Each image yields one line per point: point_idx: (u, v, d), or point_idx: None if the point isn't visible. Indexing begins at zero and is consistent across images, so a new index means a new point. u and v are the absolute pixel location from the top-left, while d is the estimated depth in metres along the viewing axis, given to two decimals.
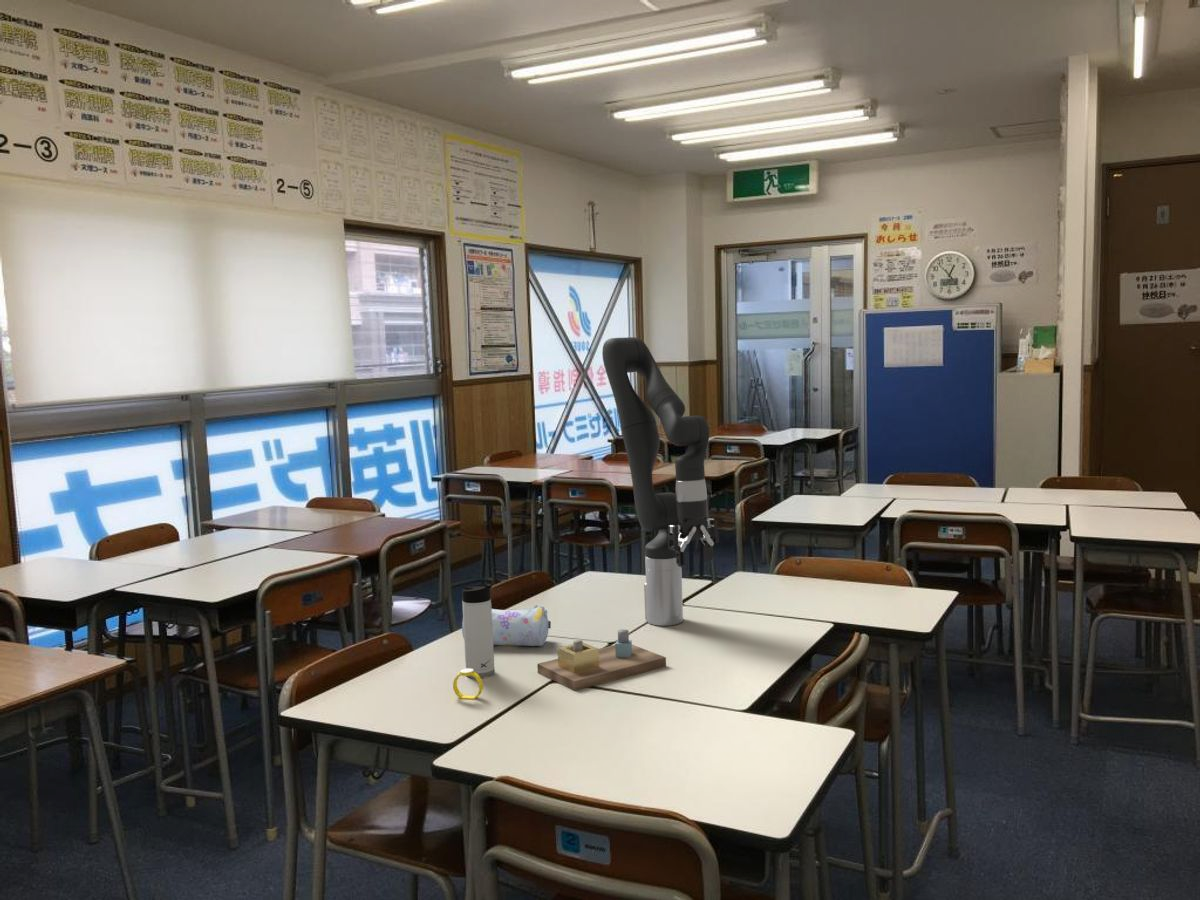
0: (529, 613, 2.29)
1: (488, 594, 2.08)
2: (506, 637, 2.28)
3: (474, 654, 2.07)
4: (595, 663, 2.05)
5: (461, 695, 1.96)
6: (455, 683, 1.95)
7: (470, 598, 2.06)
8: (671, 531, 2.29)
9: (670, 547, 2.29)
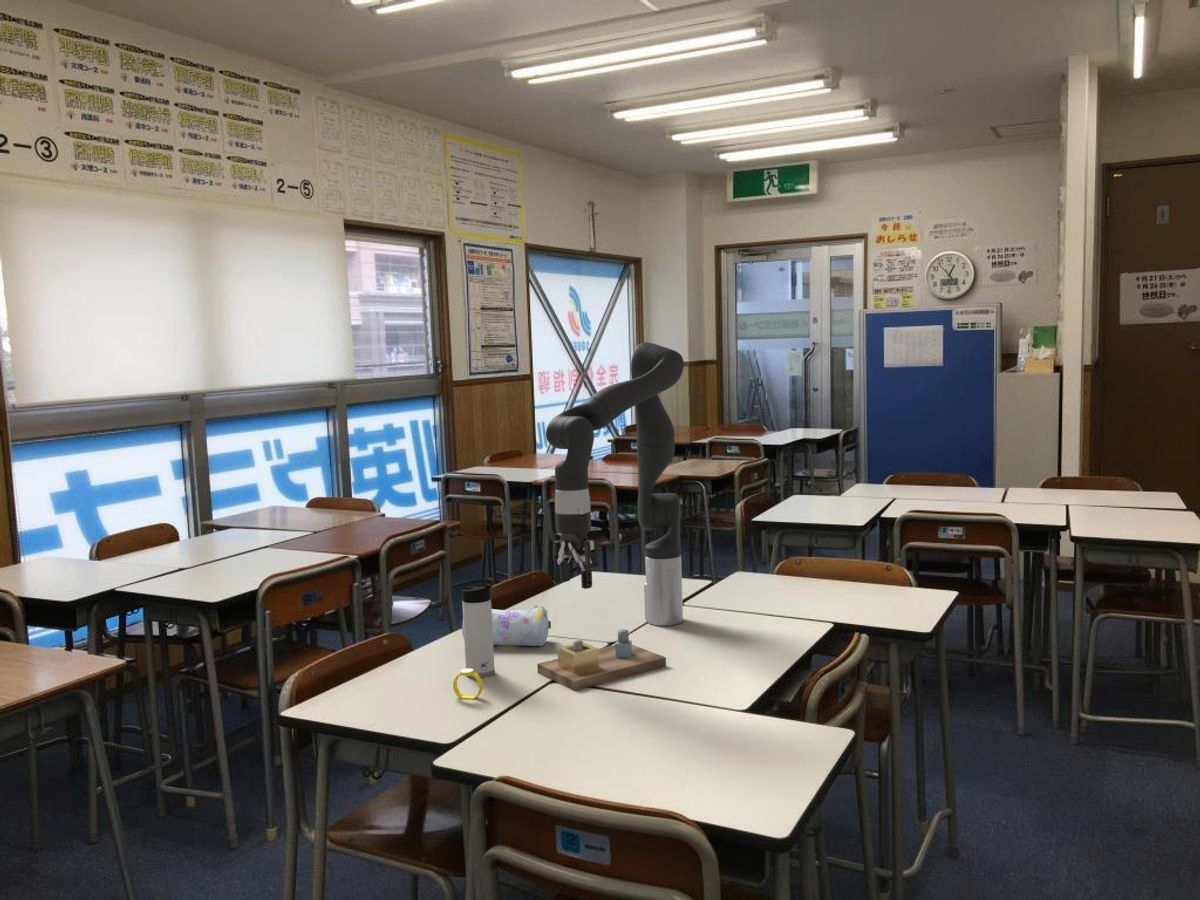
0: (530, 613, 2.29)
1: (488, 594, 2.08)
2: (506, 637, 2.28)
3: (474, 654, 2.07)
4: (595, 663, 2.05)
5: (461, 695, 1.96)
6: (455, 683, 1.95)
7: (470, 598, 2.06)
8: (591, 548, 1.98)
9: (591, 566, 1.98)
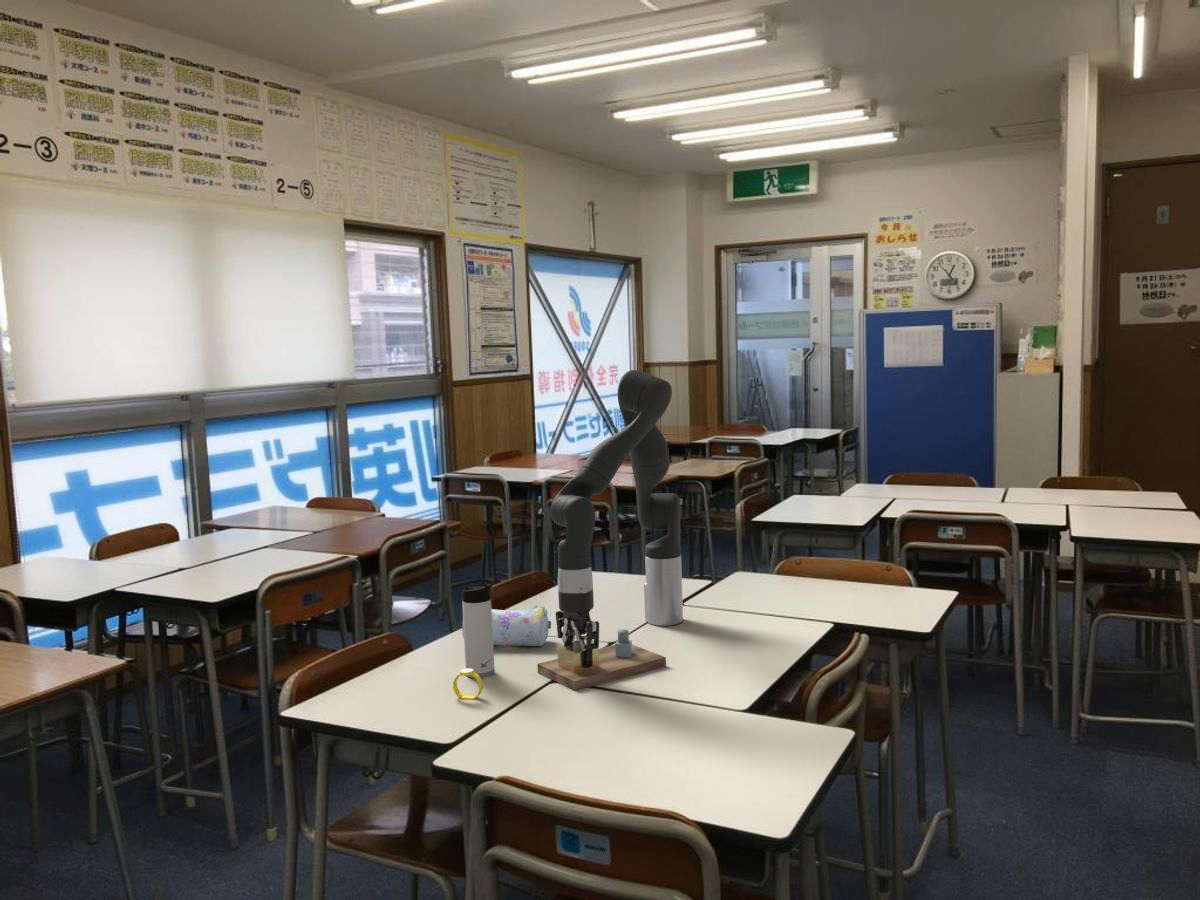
0: (530, 613, 2.29)
1: (488, 594, 2.08)
2: (506, 637, 2.28)
3: (474, 654, 2.07)
4: (595, 663, 2.05)
5: (461, 695, 1.96)
6: (455, 683, 1.95)
7: (470, 598, 2.06)
8: (594, 630, 2.00)
9: (592, 647, 2.01)
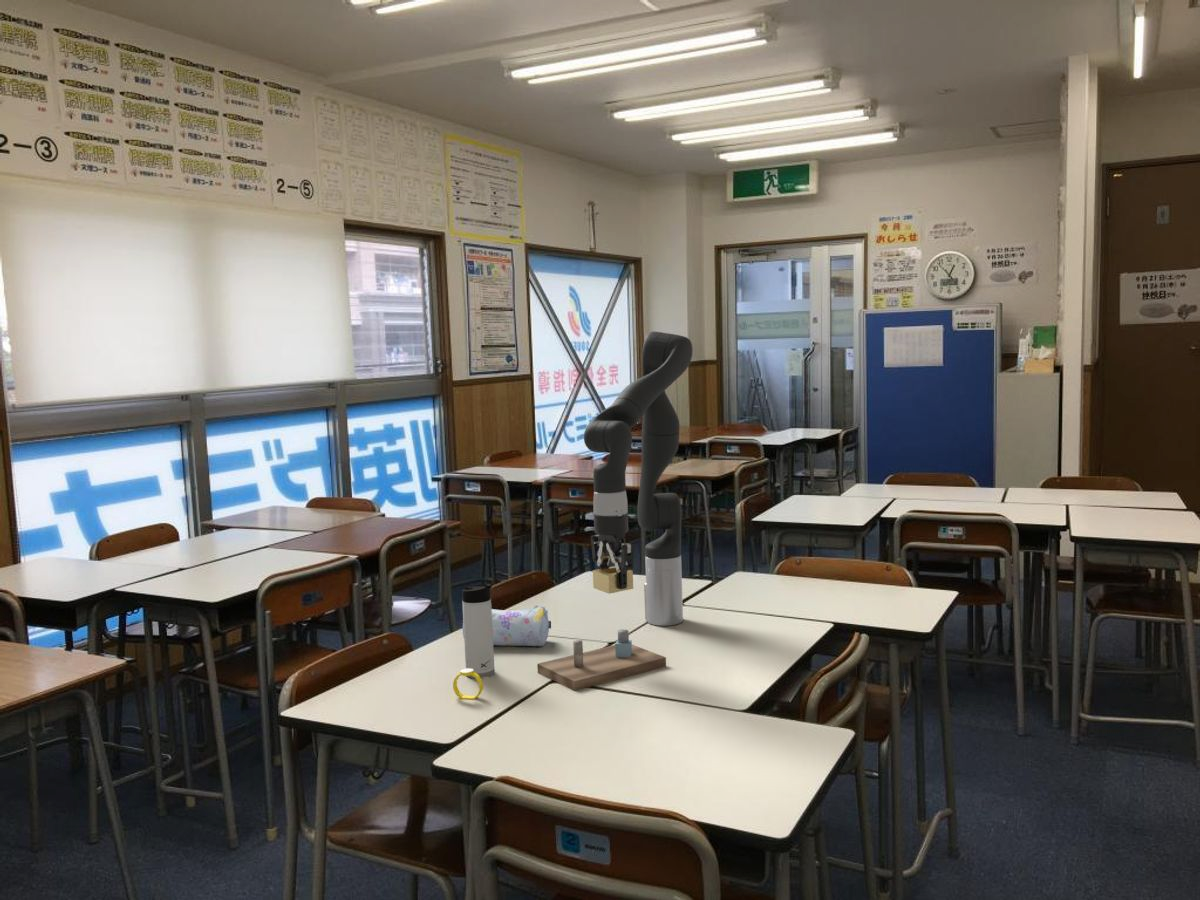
0: (530, 613, 2.29)
1: (488, 594, 2.08)
2: (507, 638, 2.28)
3: (474, 654, 2.07)
4: (629, 585, 2.10)
5: (461, 695, 1.96)
6: (455, 683, 1.95)
7: (470, 598, 2.06)
8: (628, 551, 2.05)
9: (626, 568, 2.06)
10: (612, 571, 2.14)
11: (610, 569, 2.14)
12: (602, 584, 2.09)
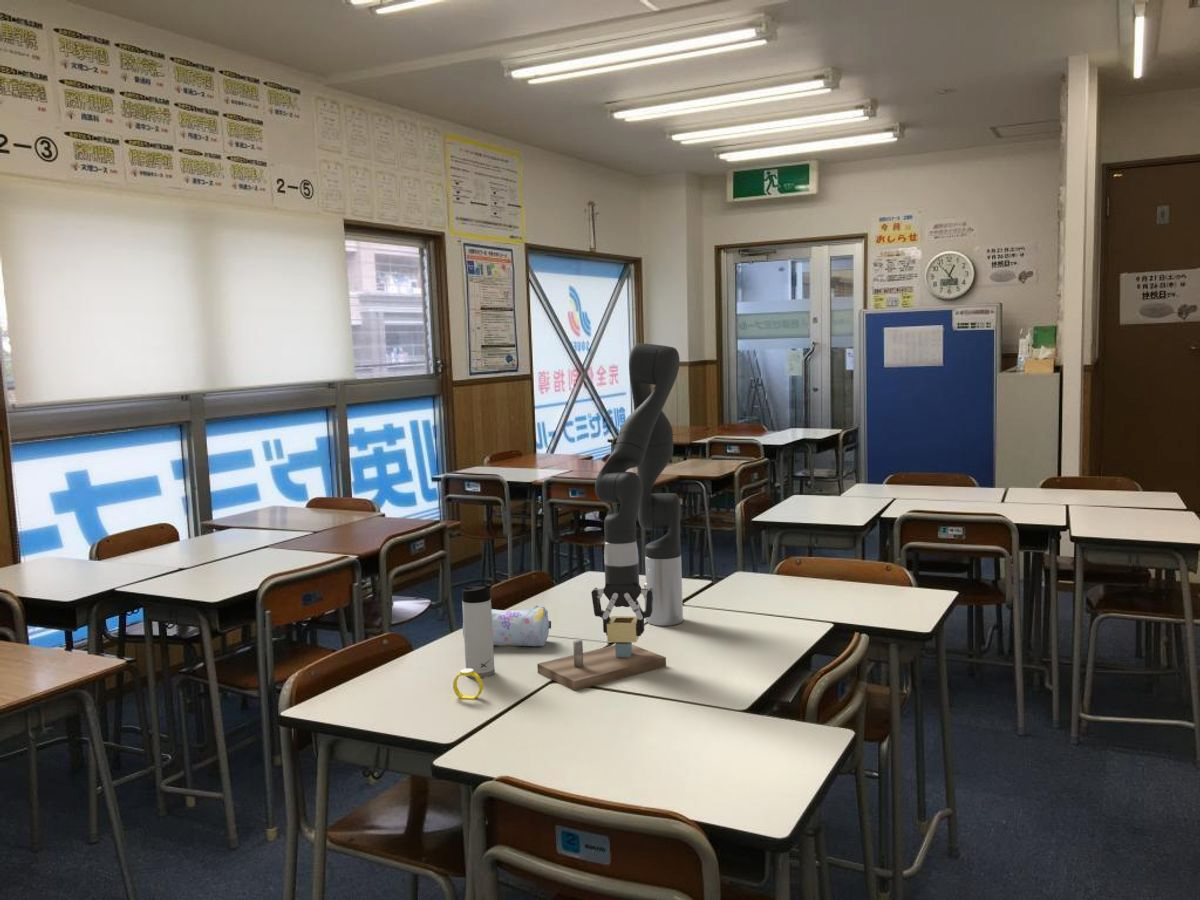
0: (530, 613, 2.29)
1: (488, 594, 2.08)
2: (507, 638, 2.28)
3: (474, 654, 2.07)
4: None
5: (461, 695, 1.96)
6: (455, 683, 1.95)
7: (470, 598, 2.06)
8: (652, 596, 2.11)
9: (650, 613, 2.11)
10: (615, 622, 2.14)
11: (615, 620, 2.14)
12: (624, 635, 2.10)
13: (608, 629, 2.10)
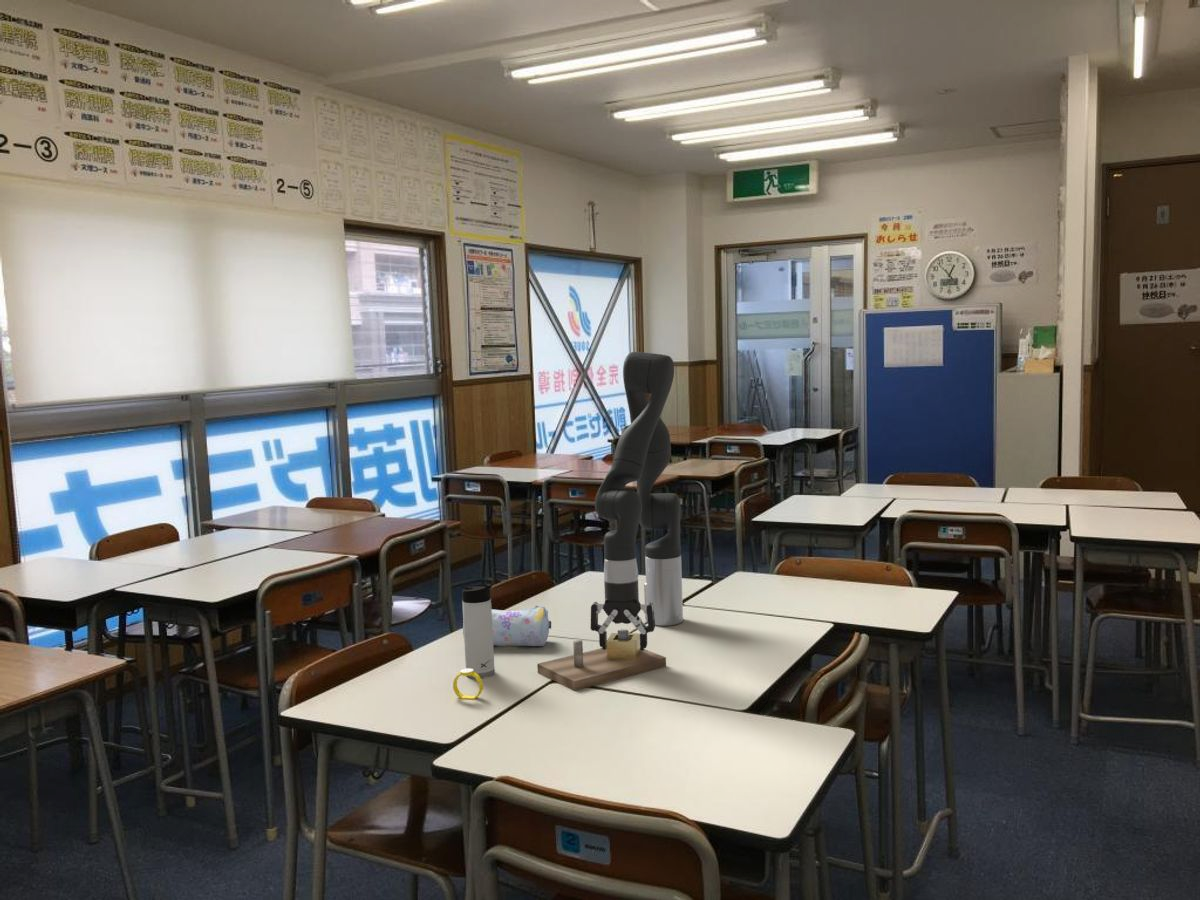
0: (531, 613, 2.29)
1: (488, 594, 2.08)
2: (507, 638, 2.28)
3: (474, 654, 2.07)
4: (639, 648, 2.15)
5: (461, 695, 1.96)
6: (455, 683, 1.95)
7: (470, 598, 2.06)
8: (652, 610, 2.11)
9: None
10: (615, 639, 2.15)
11: (615, 637, 2.14)
12: (624, 652, 2.10)
13: (608, 646, 2.11)
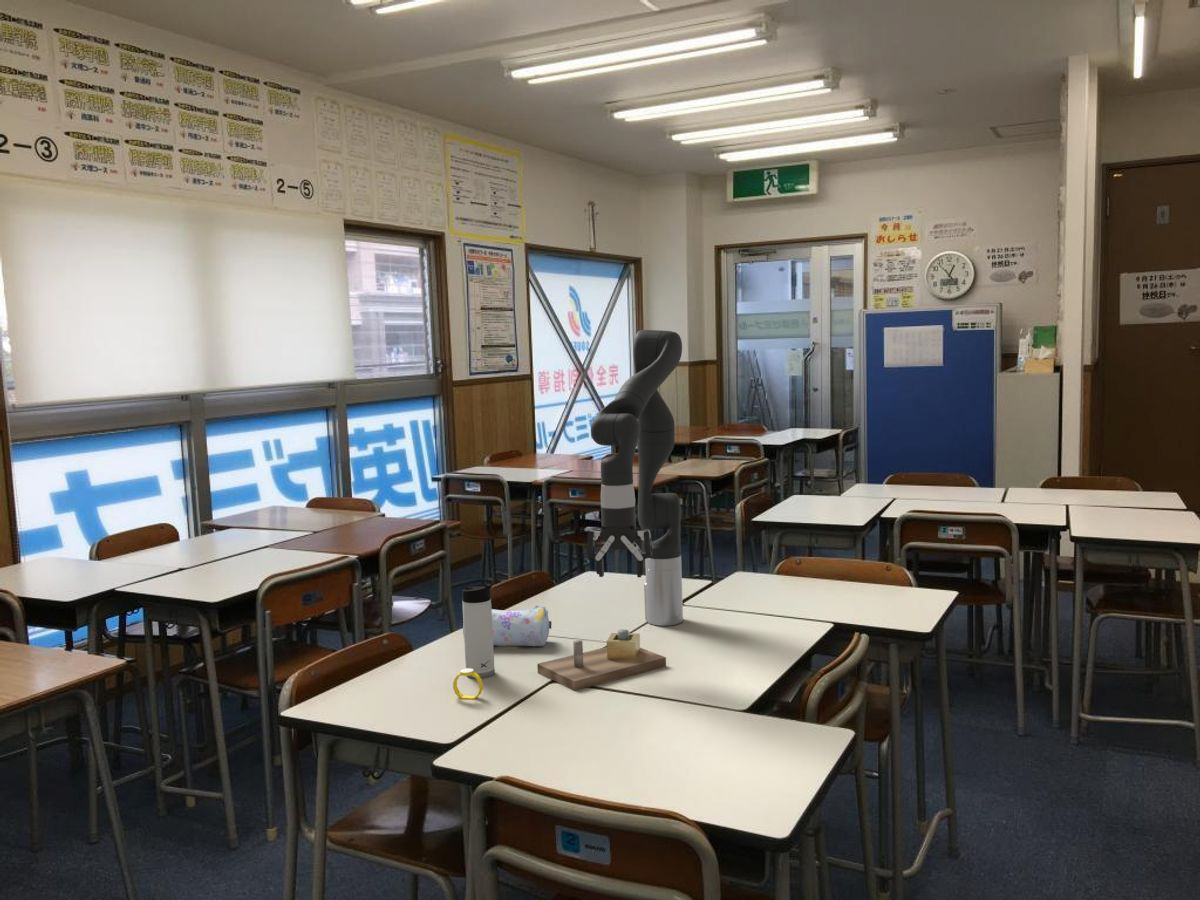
0: (531, 613, 2.29)
1: (488, 594, 2.08)
2: (507, 638, 2.28)
3: (474, 654, 2.07)
4: (639, 648, 2.15)
5: (461, 695, 1.96)
6: (455, 683, 1.95)
7: (470, 598, 2.06)
8: (650, 537, 2.09)
9: (651, 554, 2.09)
10: (615, 639, 2.15)
11: (615, 637, 2.14)
12: (624, 652, 2.10)
13: (608, 646, 2.11)
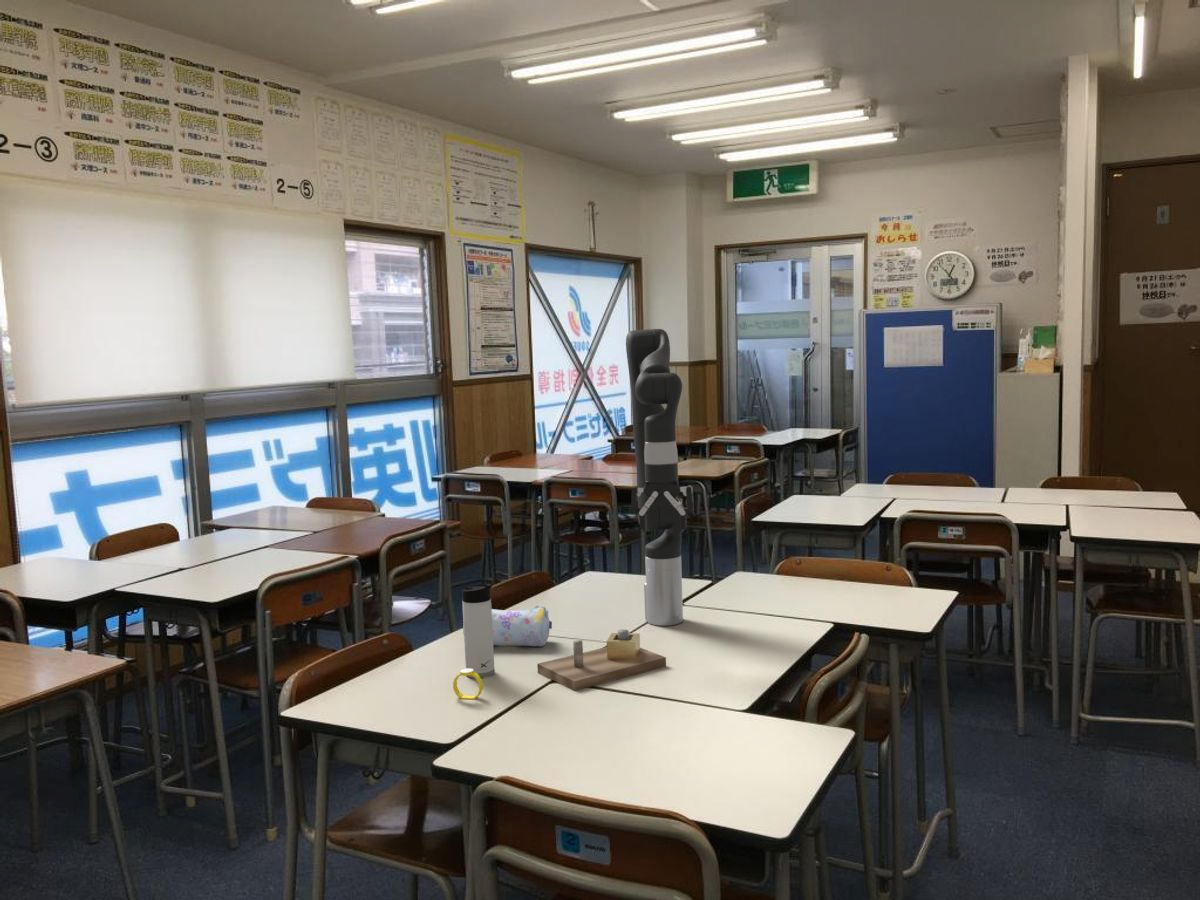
0: (531, 613, 2.29)
1: (488, 594, 2.08)
2: (507, 638, 2.28)
3: (474, 654, 2.07)
4: (639, 648, 2.15)
5: (461, 695, 1.96)
6: (455, 683, 1.95)
7: (470, 598, 2.06)
8: (692, 492, 2.17)
9: (693, 509, 2.17)
10: (615, 639, 2.15)
11: (615, 637, 2.14)
12: (624, 652, 2.10)
13: (608, 646, 2.11)
